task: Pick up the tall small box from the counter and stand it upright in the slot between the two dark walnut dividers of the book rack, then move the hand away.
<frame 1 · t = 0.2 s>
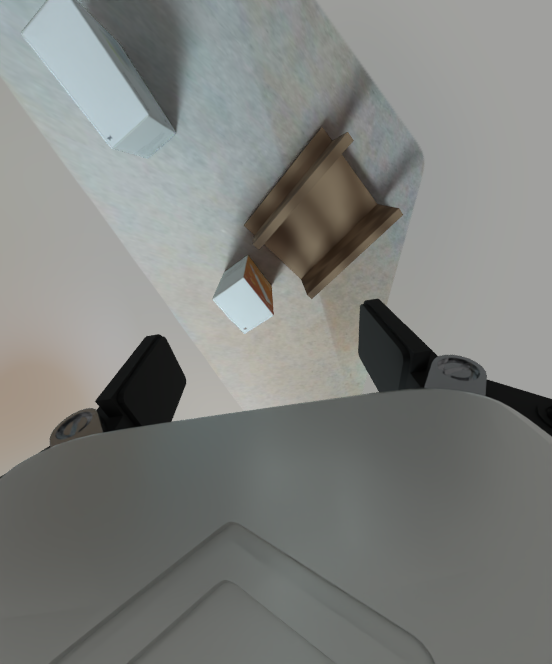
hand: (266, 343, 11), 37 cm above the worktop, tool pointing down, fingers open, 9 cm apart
small box: (248, 278, 47), on the worktop
book rack: (315, 221, 42), on the worktop
skincare box: (135, 105, 33), on the worktop
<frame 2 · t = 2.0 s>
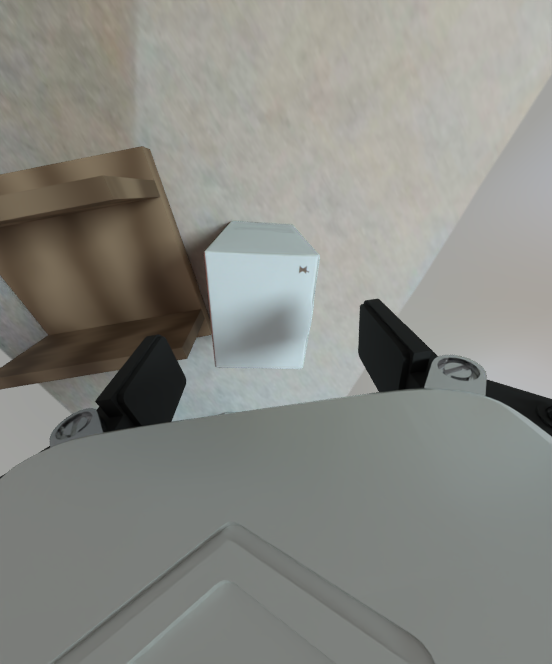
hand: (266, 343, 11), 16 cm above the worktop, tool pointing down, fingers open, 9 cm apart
small box: (261, 262, 25), on the worktop
book rack: (105, 271, 25), on the worktop
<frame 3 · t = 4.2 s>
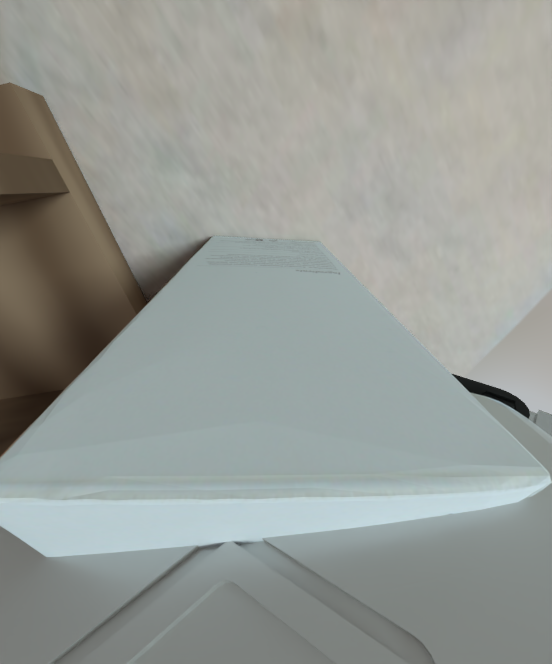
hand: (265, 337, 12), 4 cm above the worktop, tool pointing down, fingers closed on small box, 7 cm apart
small box: (265, 300, 15), on the worktop, touching gripper
book rack: (8, 315, 15), on the worktop
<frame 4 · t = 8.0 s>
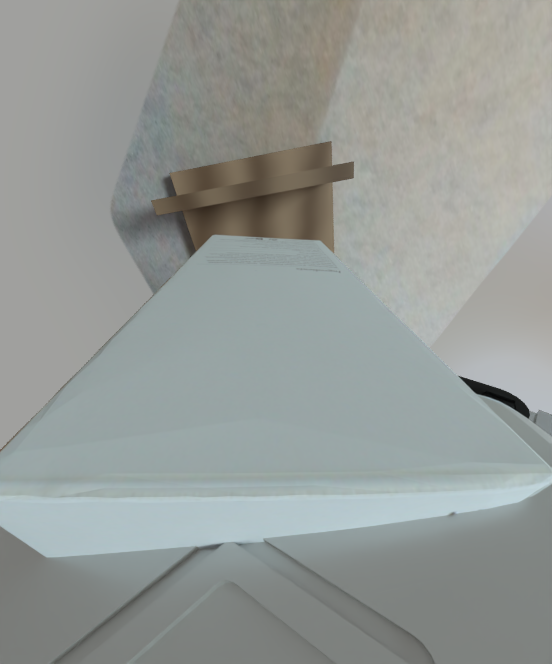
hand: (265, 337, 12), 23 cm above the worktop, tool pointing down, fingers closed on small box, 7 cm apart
small box: (265, 299, 15), point 19 cm above the worktop, touching gripper
book rack: (264, 240, 31), on the worktop
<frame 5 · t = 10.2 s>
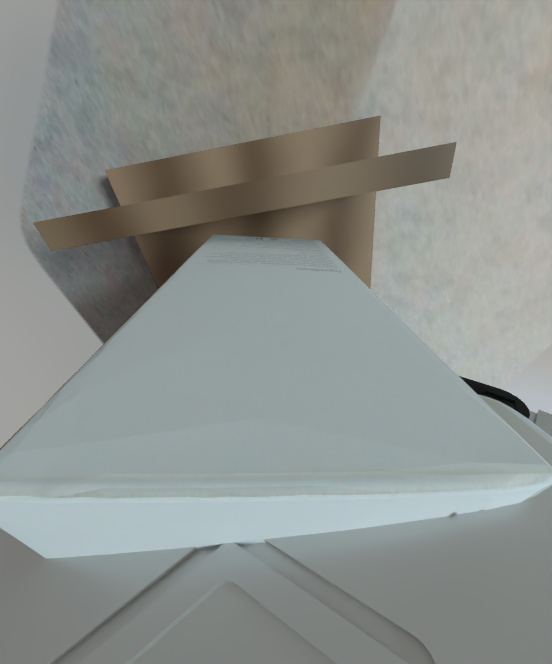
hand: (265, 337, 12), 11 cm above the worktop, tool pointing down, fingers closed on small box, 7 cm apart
small box: (265, 299, 15), point 6 cm above the worktop, touching gripper
book rack: (264, 273, 21), on the worktop
when the fingers open (7 cm above the worktop, at t = 12.0 s): small box drops 1 cm, resting on book rack.
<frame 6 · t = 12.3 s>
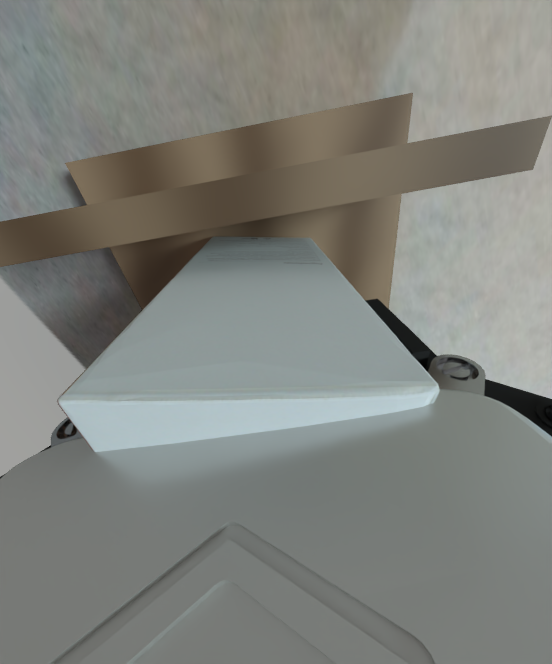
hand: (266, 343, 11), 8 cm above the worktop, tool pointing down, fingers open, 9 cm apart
small box: (262, 294, 17), point 1 cm above the worktop, touching book rack
book rack: (265, 285, 18), on the worktop
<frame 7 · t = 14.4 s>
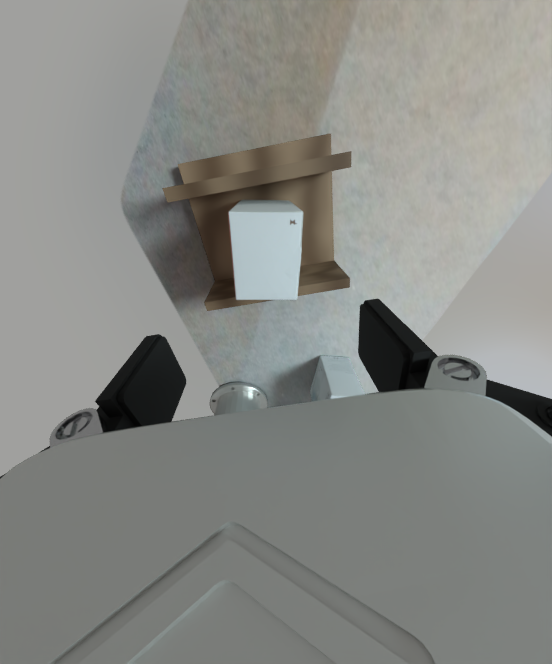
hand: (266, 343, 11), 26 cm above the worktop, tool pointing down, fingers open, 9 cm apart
small box: (265, 232, 32), point 1 cm above the worktop, touching book rack
book rack: (266, 229, 33), on the worktop
skincare box: (327, 374, 49), on the worktop
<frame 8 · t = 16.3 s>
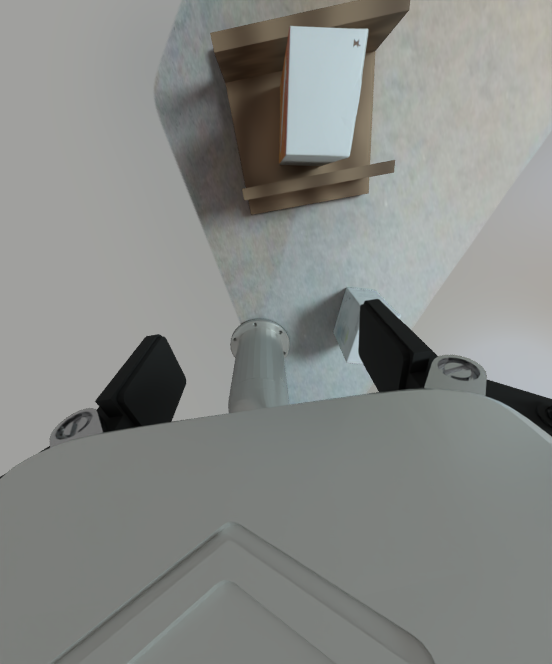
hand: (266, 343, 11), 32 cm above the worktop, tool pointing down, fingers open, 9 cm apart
small box: (301, 129, 31), point 1 cm above the worktop, touching book rack
book rack: (301, 129, 32), on the worktop
skincare box: (352, 311, 48), on the worktop
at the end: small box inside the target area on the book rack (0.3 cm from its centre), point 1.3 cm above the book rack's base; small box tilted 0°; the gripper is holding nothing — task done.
